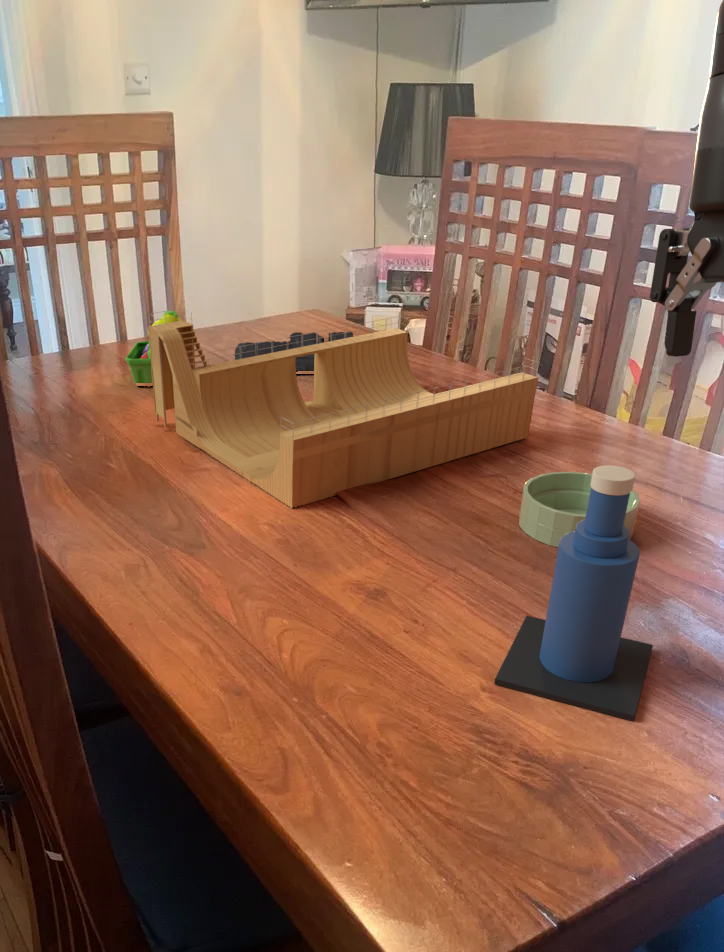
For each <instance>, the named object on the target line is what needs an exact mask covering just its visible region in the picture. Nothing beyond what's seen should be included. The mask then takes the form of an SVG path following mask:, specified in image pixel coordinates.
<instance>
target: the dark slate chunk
mask: <svg viewBox="0 0 724 952" xmlns="http://www.w3.org/2000/svg"><path fill="white" fill-rule="evenodd" d="M347 332H349V333H347ZM309 333H310V334H307V333H303V332H292V333H291V334H290V335H289V340H285V341H279V340H278V341H277V340H272V341H267V342H265V341H261V342H262V343H260V342H258V341H256V342H253V341H252V342H249V341H246V342H240V343H238V344H237V345H236V346H235V347H236V348H234V354H235V355H233V356H234V360H238V359H243V358H248V357H253V356H258V355H264V354H269V353H274V352H279V351H284V350H289V349H294V348H299V347H304V346H309V345H314V344H316V334H317V332H315V333H313V332H309ZM342 333H343V334H342ZM303 334H304V335H303ZM336 334H338V335H336ZM297 335H299V336H297ZM332 335H333V336H332ZM292 336H294V337H292ZM321 337H323V336H322V335H320V334H318V341H317V344H319V343H324V342H329V341H330V339H331V337H332V341H334V340H339V339H344V337H345V338H350V337H355V335H354V332H352V331H350V330H348V331H337V332H336V331H332V332H329V333H328V338H327V341H325V337H323V338H321ZM311 339H313V340H311ZM305 340H307V341H305ZM300 341H302V342H300ZM295 342H297V343H295ZM255 343H256V344H255ZM290 343H292V344H290ZM249 344H252V345H249ZM285 344H287V345H285ZM244 345H246V346H244ZM280 345H282V346H280ZM239 346H240V347H239ZM274 346H276V347H274ZM269 347H271V348H269ZM264 348H266V349H264ZM259 349H261V350H259ZM254 350H256V351H254ZM249 351H251V352H249ZM244 352H246V353H244ZM238 353H240V354H238ZM314 355H315V354H311V355H306V356H301V357H296V363H295V365H296V372H298V371H314Z"/></svg>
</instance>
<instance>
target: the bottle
mask: <svg viewBox="0 0 724 952" xmlns="http://www.w3.org/2000/svg"><path fill="white" fill-rule="evenodd" d="M591 474H592V478H591V483H590V486H591V491H590V496H589V502H588V507H587V512H586V518H585V520H582V521H580V522H578V523H577V525H576V527H575V531H574V532H570V533H568V534H566V535H564V536H563V537H562V538H561V539H560V541H559V547H557V552H556V559H555V565H554V570H553V575H552V581H551V588H550V593H549V599H548V605H547V610H546V618H545V620H546V621H545V627H544V633H543V639H542V644H541V650H540V661H541V663H542V665H543V666H544V667H545V668H546V669H547V670H548V671H550V672H551V673H553V674H554V675H556V676H558V677H561V678H563V679H566V680H570V681H575V682H596V681H600V680H603V679H605V678H607V677H608V676H610V674H611V673H612V672H613V668H614V664H615V660H616V655H617V651H618V647H619V642H620V638H622V634H623V629H624V625H625V621H626V615H627V612H628V608H629V603H630V598H631V594H632V591H633V585H634V581H635V577H636V572H637V568H638V564H639V560H640V555H641V551H640V548H639V546H638V545H637V544H636V543H634V541H632V540H631V539H630V540H629V536H630V532H629V530H628V529H627V528H626V527H625V526H624V525H623V524H624V520H625V515H626V510H627V506H628V501H629V496H630V493H631V491H632V489H633V490H634V483H635V479H636V473H635V472H634V471H633V470H631V469H629V468H626V467H624V466H619V465H613V464H612V465H611V464H609V465H608V464H607V465H599V466H596V467H594V468H593V470H592V473H591Z"/></svg>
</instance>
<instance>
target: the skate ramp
mask: <svg viewBox="0 0 724 952" xmlns="http://www.w3.org/2000/svg"><path fill="white" fill-rule="evenodd" d="M178 310H179V308H177V309H174V311H178ZM180 310H181V311H180V312H183V311H186V312H189V313H190V317H191V318H189V317H187V316H185V315H183V318H182V320H181V321H177V322H171V323H167V319H166V318H164V319H165V324H159V325H156V324H155V325H153V324H154V323H155V322H154V321H155V319H153V320H151V319H148V322H149V326H148V330H149V335H148V341H149V342H150V354H151V367H152V370H151V372H152V385H153V387H152V396H153V397H152V398H153V408H154V409H153V410H154V413H155V420H156V421H157V422H158V421H159V422H160V419H159V417H161V418H163V427H167V428H168V426H167V423H168V422H167V412H166V411H168V410H173V409H174V420H175V421H174V422H175V433H176V434H177V435H179V436H180V437H182V438H183V439H184V440H186V441H187V442H189V443H191V444H192V445H194V446H196V447H197V448H199V449H201V450H202V451H203V452H205V453H206V454H208V455H209V456H210V457H213V459H215V460H217V461H218V462H220V463H222V464H223V465H224V466H226V467H228V468H229V469H231V470H232V471H234V472H235V473H236V474H238V475H240V476H241V477H243V478H244V479H245V480H247V481H248V482H250V483H252V484H254V485H256V486H257V487H258V488H261V489H262V490H263V491H264V492H266V493H268V494H269V495H271V496H272V497H274V498H275V499H277V500H279V501H280V502H282V503H285V506H287V505H288V506H287V507H289V506H290V507H289V508H290V509H294V508H293V507H295V508H298V507H297V506H299V507H302V506H305V505H308V504H312V503H315V502H319V501H321V500H325V499H329V498H332V497H335V496H338V494H337V493H339V492H343V491H345V490H348V489H352V488H355V487H358V486H359V487H360V486H364V485H370V484H375V483H380V482H384V481H385V482H386V481H389V480H391V479H394V478H398V477H401V476H405V475H408V474H412V473H414V472H417V471H421V470H424V469H428V468H431V467H434V466H439V465H441V464H444V463H447V462H451V461H455V460H458V459H461V458H464V457H467V456H471V455H475V454H478V453H480V452H484V451H488V450H491V449H494V448H498V447H500V446H504V445H508V444H510V443H515V442H518V441H520V440H524V439H529V435H530V434H529V433H530V429H531V421H532V415H533V410H534V405H535V397H536V392H537V387H538V383H539V377H538V371H539V366H540V362H538V361H536V360H533V359H532V360H531V359H529V358H526V357H524V360H523V363H525V362H526V361H525V360H529V361H531V362H534V363H533V365H535V364H537V366H536V367H537V368H534V367H531V365H532V363H529V365H528V364H526V365H525V364H523V365H522V366H521V368H522V369H523V371H522V372H518V373H514V374H512V373H509V375H506V376H501V377H497V376H498V373H503V372H506V371H512V370H515V369H519V368H520V366H518V367H513V368H509V369H505V370H502V371H501V370H500V371H497V372H493V373H489V374H485V375H482V376H481V377H480V376H477V377H473V378H470V379H464V386H462V387H457V388H453V389H452V387H449V390H446V391H442V392H438V393H432V392H430V390H436V389H437V388H441V387H446V386H451V385H454V384H458V383H459V381H457V382H452V383H449V384H445V385H441V386H436V387H433V388H428V389H425V388H424V387H423V386H422V385H421V384H420V383H419V381H418V380H417V378H416V377H415V375H414V373H413V370H412V368H411V365H410V361H409V355H408V335H409V332H408V331H409V328H408V327H409V324H404V323H402V322H400V321H399V318H400V317H401V318H403V319H406V320H408V318H407V317H404V316H401V315H397V316H396V318H397V319H396V322H394V323H392V325H395V324H397V327H396V328H391V329H387V326H389V325H391V323H387V322H388V320H389V319H390V317H388V318H386V320H385V324H384V325H382V327H384V326H385V328H384V329H385V330H382V331H381V330H380V331H376V332H371V333H365V334H360V333H361V331H363V330H365V328H363V329H361V330H360V329H358V330H356V332H358V335H356V336H355V335H354V337H350V338H345V337H344V339H339V340H334V341H332V337H331V339H330V341H329V342H326V341H324V343H319V344H317V341H318V335H319V332H321V330H318V331H313V332H312V333H317V334H316V344H314V345H309V346H304V347H299V348H294V349H289V350H284V351H279V352H274V353H269V354H264V355H258V356H253V357H248V358H243V359H238V360H235V359H234V360H229V361H222V362H219V363H214V364H210V361H209V360H211V358H209V355H207V359H208V361H207V360H206V355H205V354H204V353H203V349H202V348H201V346H200V345H201V344H200V343H201V342H198V337H197V335H196V331H195V330H194V324H193V323H190V322H188V321H185V320H184V318H187V319H189V320H191V322H193V320H192V319H193V316H192V312H191V311H190V310H187V309H185V308H180ZM168 311H173V309H169V310H168ZM165 312H166V310H162V313H165ZM158 313H159V314H160V311H157V312H155V314H158ZM153 314H154V312H151V313H148V318H151V317H153V318H156V320H157V321H158V320H160V319H161V318H158V317H156V316H154V315H153ZM176 317H179V318H180V315H178V316H176ZM170 318H172V317H170ZM394 318H395V316H392V317H391V319H394ZM383 320H384V318H382V319H380V321H383ZM377 321H379V319H377V320H371V321H370V323H372V324H371V329H375V326H374V325H375V323H374V322H377ZM151 323H152V324H151ZM367 323H368V324H369V321H366V322H365V324H367ZM361 324H363V322H360V323H359V325H361ZM400 324H401V325H403V326H404V325H405V326H407V328H406V330H403V329H400V328H398V327H399V325H400ZM152 325H153V326H152ZM357 325H358V323H356V324H354V326H357ZM351 326H353V324H349V327H351ZM379 327H381V325H378V326H377V328H379ZM340 328H342V326H340V327H338V329H340ZM343 328H347V325H346V326H345V325H344V326H343ZM335 329H337V327H334V328H333V330H335ZM368 329H370V327H368V328H366V330H368ZM325 331H326V329H324V330H322V332H325ZM328 331H332V328H330V329H328ZM346 332H347V333H349V332H348V331H346ZM351 332H352V333H354V332H355V330H352V331H351ZM310 333H311V332H308V333H306V334H310ZM302 334H303V335H304V334H305V333H302ZM342 334H343V333H342ZM336 335H338V334H336ZM297 336H299V335H297ZM332 336H333V335H332ZM292 337H294V336H292ZM327 337H328V338H329V335H326V336H325V338H327ZM321 338H324V336H322V337H321ZM282 339H284V337H281V338H280V340H282ZM285 339H290V336H289V337H285ZM277 340H278V341H279V338H277V339H275V341H277ZM311 340H313V339H311ZM272 341H273V339H271V340H270V342H272ZM305 341H307V340H305ZM262 342H263V341H260V342H259V343H262ZM264 342H268V340H265V341H264ZM300 342H302V341H300ZM254 343H255V344H256V342H254ZM295 343H297V342H295ZM290 344H292V343H290ZM249 345H252V344H249ZM285 345H287V344H285ZM244 346H246V345H244ZM280 346H282V345H280ZM236 347H237V346H234V347H233V349H236ZM239 347H240V346H239ZM274 347H276V346H274ZM269 348H271V347H269ZM231 349H232V347H228V348H227V350H231ZM264 349H266V348H264ZM259 350H261V349H259ZM219 351H221V349H218V350H217V352H219ZM225 351H226V348H224V349H222V353H225ZM254 351H256V350H254ZM195 352H198V354H195ZM214 352H215V353H216V350H213V351H211V353H214ZM249 352H251V351H249ZM244 353H246V352H244ZM207 354H210V351H208V352H207ZM238 354H240V353H238ZM311 354H315V355H314V375H313V397H312V399H313V400H309V401H306V402H305V401H304V399H303V396H302V394H301V391H300V387H299V383H298V379H297V375H296V365H295V363H296V357H301V356H306V355H311ZM234 355H235V353H233V354H232V356H234ZM230 356H231V354H230V355H227V357H230ZM196 358H200V360H198V361H196ZM219 358H221V356H220V357H217V359H219ZM222 358H225V355H223V356H222ZM214 359H216V357H215V358H214V357H213V358H212V360H214ZM207 363H208V364H207ZM198 364H202V365H203V366H198V367H196V365H198ZM526 367H527V368H530V369H533V370H530V371H526ZM535 371H536V373H535V375H533V374H529V373H531V372H535ZM490 375H495V376H494V378H493V379H490V380H485V381H483V377H486V376H490ZM474 379H479V380H480V381H479V382H478V383H474V384H470V385H467V383H468V381H471V380H474ZM462 382H463V380H461V381H460V383H462ZM328 497H329V498H328ZM301 505H302V506H301Z"/></svg>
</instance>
